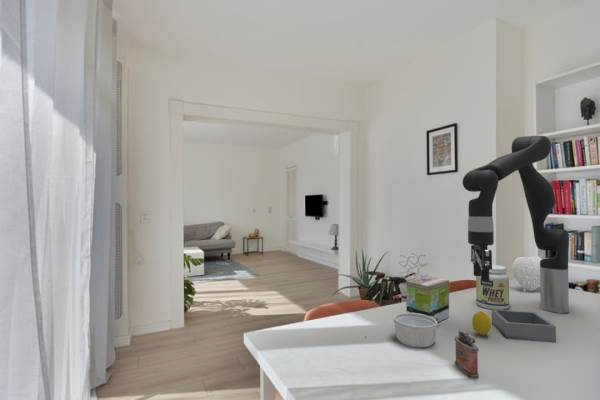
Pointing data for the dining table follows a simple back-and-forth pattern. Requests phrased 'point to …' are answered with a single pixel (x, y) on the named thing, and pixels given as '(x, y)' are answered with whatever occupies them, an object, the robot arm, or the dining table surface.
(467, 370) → the lighter
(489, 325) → the lemon
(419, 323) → the ramekin
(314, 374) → the dining table surface
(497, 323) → the bin
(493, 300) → the supplement tub
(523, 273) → the white textured ornament
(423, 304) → the tea box
